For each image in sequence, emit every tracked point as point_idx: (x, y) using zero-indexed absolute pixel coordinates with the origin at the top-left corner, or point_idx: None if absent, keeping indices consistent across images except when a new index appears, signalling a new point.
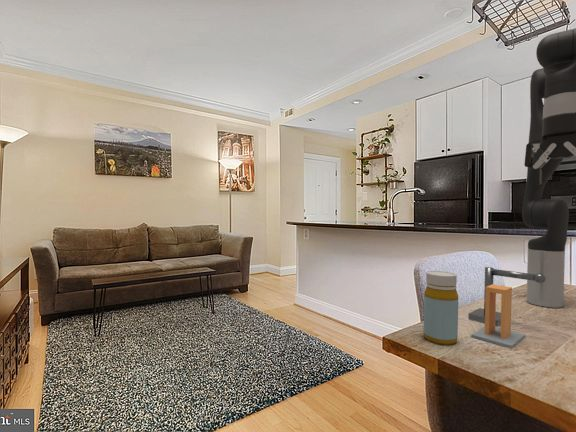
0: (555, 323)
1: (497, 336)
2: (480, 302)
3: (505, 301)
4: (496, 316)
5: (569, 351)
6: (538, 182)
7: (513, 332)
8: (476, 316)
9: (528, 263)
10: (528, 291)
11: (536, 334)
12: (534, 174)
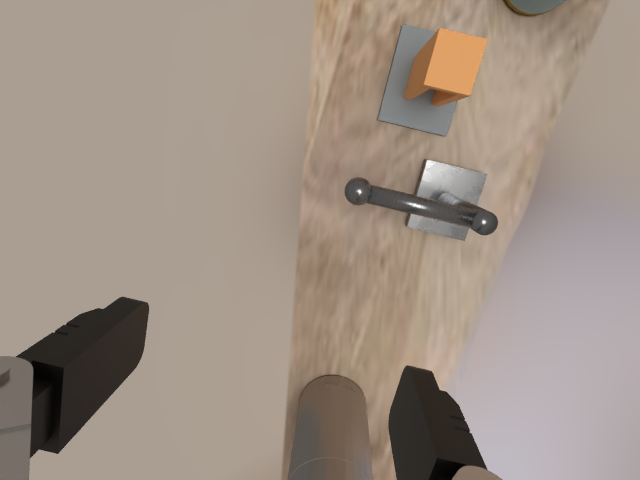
0: (322, 257)
1: None
2: (459, 335)
3: (432, 36)
4: (430, 190)
5: (312, 84)
6: (415, 367)
7: (398, 117)
8: (469, 170)
9: (371, 471)
10: (364, 410)
11: (357, 153)
12: (465, 438)
